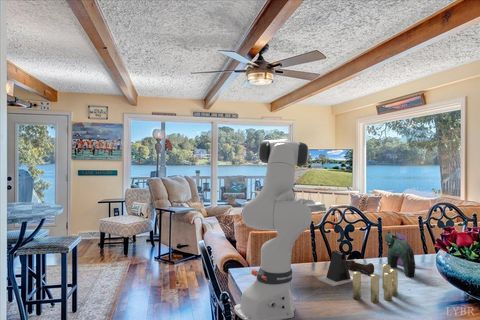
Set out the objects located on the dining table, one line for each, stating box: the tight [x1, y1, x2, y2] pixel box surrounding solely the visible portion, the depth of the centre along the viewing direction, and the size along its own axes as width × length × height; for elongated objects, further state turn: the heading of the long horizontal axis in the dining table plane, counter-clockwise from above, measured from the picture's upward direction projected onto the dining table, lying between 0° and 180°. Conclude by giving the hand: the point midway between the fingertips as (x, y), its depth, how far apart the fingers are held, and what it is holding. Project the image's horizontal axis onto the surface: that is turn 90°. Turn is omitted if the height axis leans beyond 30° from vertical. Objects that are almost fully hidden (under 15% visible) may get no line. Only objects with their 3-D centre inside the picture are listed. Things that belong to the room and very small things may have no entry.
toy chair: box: [396, 233, 408, 266], centre depth 170 cm, size 8×9×15 cm
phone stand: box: [326, 250, 351, 282], centre depth 145 cm, size 9×6×12 cm, turn 115°
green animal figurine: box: [384, 229, 416, 278], centre depth 157 cm, size 20×6×20 cm, turn 4°
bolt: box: [346, 259, 375, 276], centre depth 157 cm, size 6×5×15 cm
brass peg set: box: [352, 263, 399, 304], centre depth 127 cm, size 22×10×10 cm, turn 122°
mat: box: [316, 274, 353, 287], centre depth 145 cm, size 16×10×1 cm, turn 122°
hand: (318, 210), depth 156 cm, fingers open, 8 cm apart
